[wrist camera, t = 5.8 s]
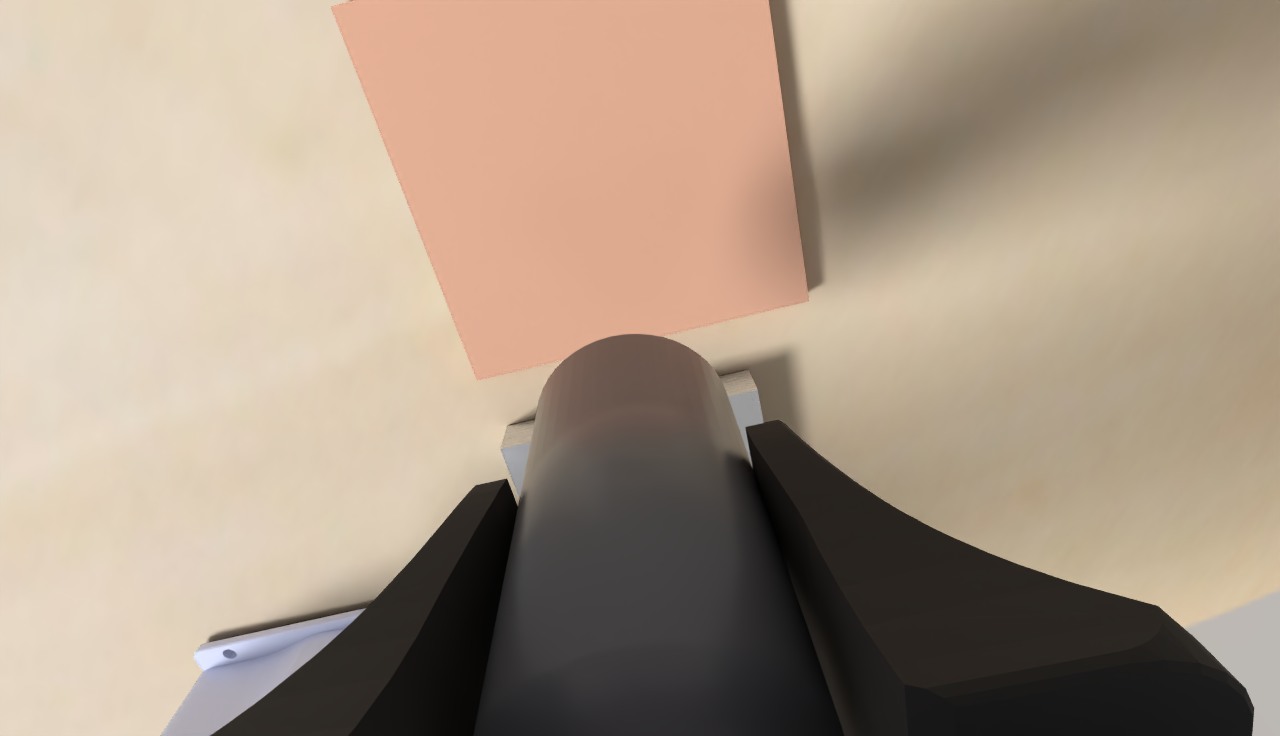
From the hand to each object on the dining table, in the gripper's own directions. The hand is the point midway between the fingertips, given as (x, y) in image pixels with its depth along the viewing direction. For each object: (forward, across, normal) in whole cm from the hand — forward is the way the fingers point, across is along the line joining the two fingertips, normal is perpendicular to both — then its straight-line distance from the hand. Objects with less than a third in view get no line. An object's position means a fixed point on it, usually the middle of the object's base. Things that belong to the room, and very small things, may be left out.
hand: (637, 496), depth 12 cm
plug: (+3, 0, 0) cm, 3 cm away
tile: (+10, 0, -4) cm, 11 cm away
